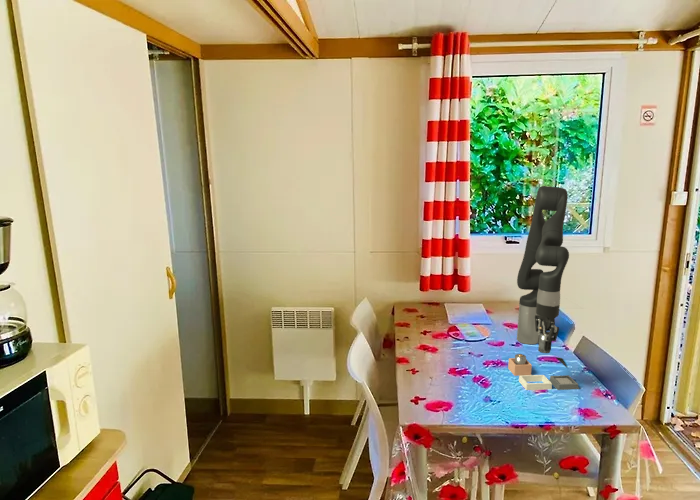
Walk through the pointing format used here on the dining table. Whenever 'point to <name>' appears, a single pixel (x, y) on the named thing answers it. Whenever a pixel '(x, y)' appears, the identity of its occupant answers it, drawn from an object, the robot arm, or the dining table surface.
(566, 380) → the plate
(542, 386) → the trough
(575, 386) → the grey square pedestal
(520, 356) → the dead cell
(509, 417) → the dining table surface
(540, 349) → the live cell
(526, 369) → the tan open box
